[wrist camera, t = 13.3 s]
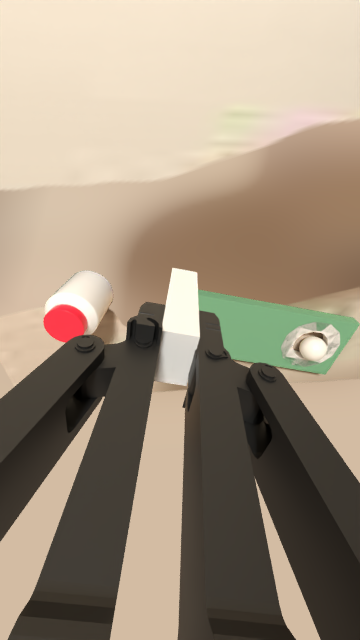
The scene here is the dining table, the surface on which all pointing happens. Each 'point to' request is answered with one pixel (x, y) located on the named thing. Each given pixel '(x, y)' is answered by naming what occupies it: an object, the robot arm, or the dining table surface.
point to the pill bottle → (78, 306)
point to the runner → (275, 331)
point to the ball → (313, 348)
